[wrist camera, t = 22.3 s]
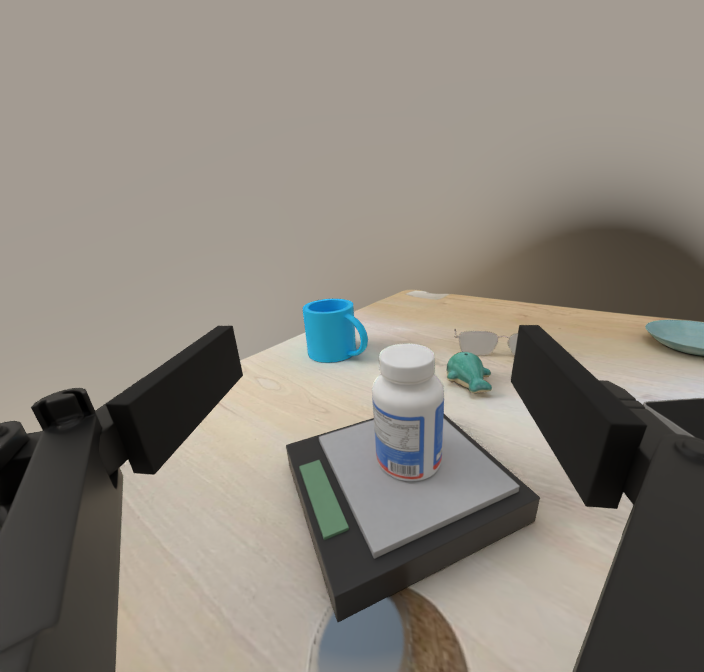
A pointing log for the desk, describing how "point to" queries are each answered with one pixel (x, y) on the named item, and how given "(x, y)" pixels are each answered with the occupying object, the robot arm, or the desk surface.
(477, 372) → the whale figurine
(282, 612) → the desk surface
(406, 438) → the pill bottle
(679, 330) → the saucer
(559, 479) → the desk surface
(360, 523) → the scale
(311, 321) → the mug
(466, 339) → the eyeglasses
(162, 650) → the desk surface
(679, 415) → the external hard drive
